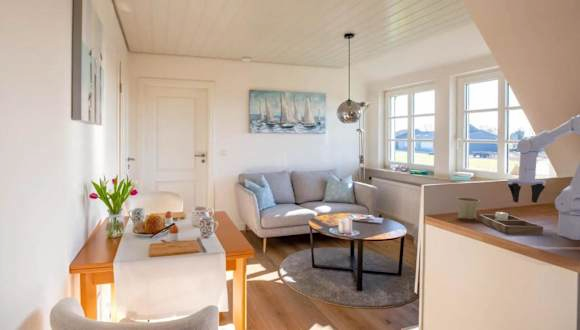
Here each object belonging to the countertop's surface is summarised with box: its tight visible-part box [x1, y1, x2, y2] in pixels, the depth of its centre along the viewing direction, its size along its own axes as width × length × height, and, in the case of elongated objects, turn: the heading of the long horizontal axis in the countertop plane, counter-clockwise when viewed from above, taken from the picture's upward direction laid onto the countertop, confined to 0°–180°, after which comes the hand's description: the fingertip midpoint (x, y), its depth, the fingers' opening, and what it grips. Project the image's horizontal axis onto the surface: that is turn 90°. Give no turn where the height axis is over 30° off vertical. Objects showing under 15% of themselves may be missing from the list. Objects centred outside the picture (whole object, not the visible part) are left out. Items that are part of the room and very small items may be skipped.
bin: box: [477, 213, 544, 235], centre depth 148 cm, size 20×14×4 cm, turn 1°
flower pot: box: [455, 197, 481, 220], centre depth 165 cm, size 9×9×9 cm
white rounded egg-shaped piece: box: [494, 211, 509, 220], centre depth 153 cm, size 4×4×4 cm
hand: (524, 202), depth 156 cm, fingers open, 7 cm apart
